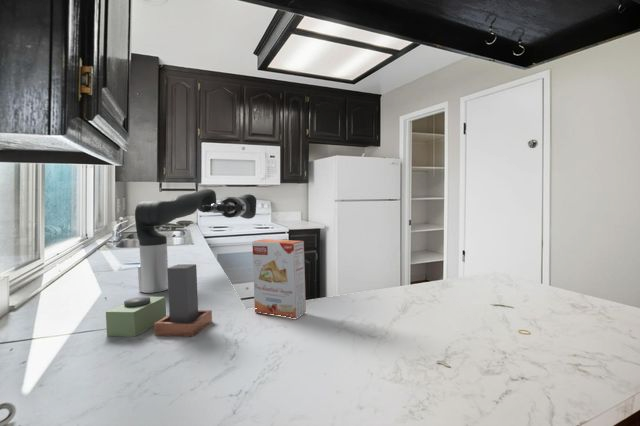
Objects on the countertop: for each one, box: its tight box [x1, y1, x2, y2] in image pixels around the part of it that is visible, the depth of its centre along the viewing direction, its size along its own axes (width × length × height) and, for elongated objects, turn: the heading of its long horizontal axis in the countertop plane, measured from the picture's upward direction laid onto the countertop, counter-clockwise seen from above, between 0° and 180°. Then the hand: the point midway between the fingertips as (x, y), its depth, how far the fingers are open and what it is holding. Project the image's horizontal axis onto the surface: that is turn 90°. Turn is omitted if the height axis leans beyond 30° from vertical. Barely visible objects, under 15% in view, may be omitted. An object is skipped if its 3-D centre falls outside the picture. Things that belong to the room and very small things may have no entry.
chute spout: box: [167, 263, 199, 322], centre depth 86 cm, size 5×5×16 cm
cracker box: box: [252, 238, 307, 319], centre depth 95 cm, size 14×6×21 cm, turn 62°
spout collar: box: [153, 309, 213, 337], centre depth 86 cm, size 10×10×3 cm
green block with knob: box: [105, 296, 167, 338], centre depth 89 cm, size 8×13×7 cm, turn 172°
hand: (215, 208), depth 115 cm, fingers open, 8 cm apart
